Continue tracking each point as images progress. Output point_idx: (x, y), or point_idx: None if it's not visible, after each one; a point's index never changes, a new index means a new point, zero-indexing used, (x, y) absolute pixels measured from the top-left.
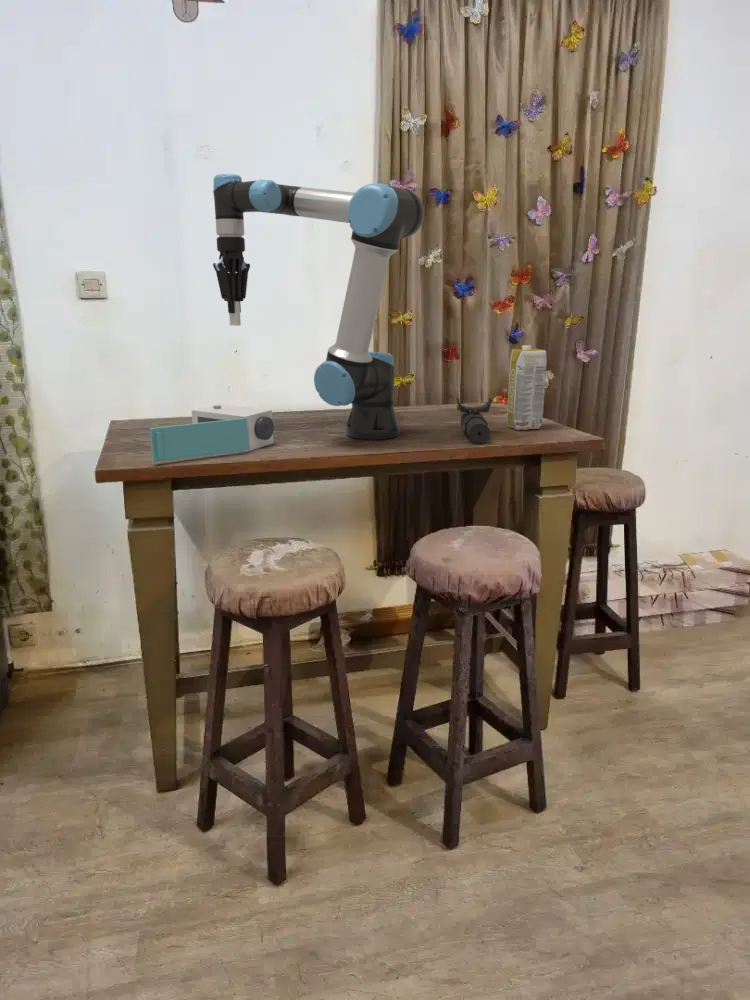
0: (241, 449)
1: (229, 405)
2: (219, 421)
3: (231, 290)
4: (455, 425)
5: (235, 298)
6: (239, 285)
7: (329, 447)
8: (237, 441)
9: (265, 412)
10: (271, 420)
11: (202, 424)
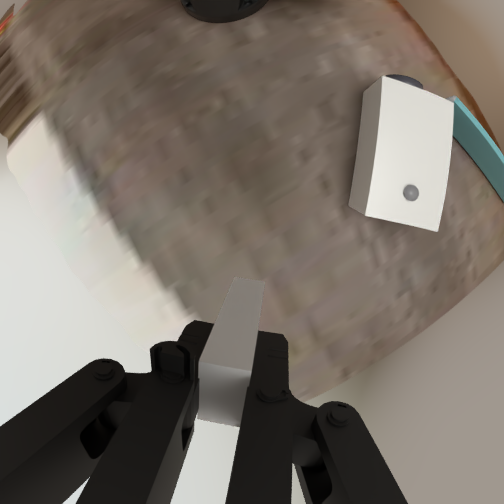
0: None
1: (374, 185)
2: (487, 133)
3: (291, 474)
4: None
5: (247, 395)
6: (118, 485)
7: (343, 10)
8: None
9: (401, 82)
10: (393, 75)
11: (501, 154)
